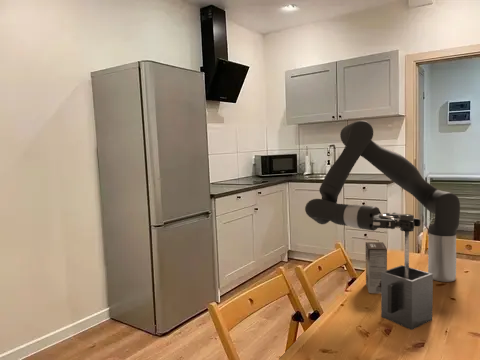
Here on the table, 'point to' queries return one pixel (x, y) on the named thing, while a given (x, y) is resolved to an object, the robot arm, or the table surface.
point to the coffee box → (375, 265)
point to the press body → (406, 297)
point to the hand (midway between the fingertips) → (416, 224)
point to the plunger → (406, 243)
